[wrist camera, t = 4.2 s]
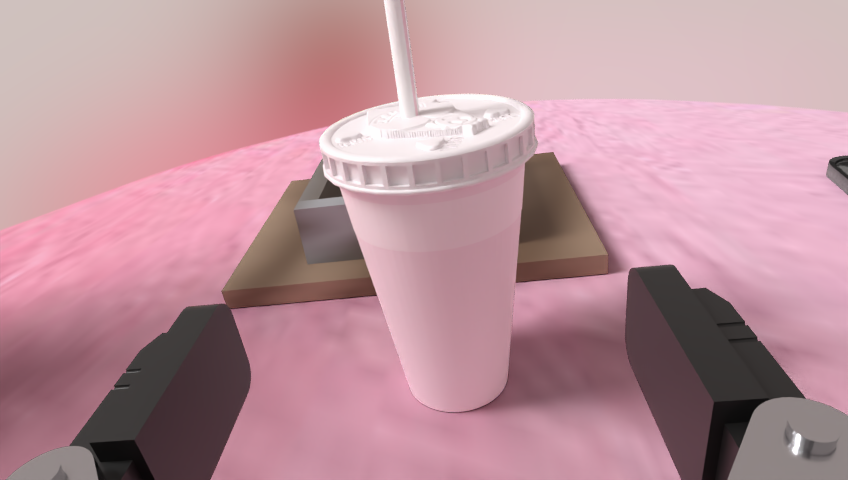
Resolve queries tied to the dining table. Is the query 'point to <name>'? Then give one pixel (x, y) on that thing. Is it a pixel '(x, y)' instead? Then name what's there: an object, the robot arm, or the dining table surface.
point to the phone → (839, 172)
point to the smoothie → (438, 224)
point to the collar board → (343, 259)
